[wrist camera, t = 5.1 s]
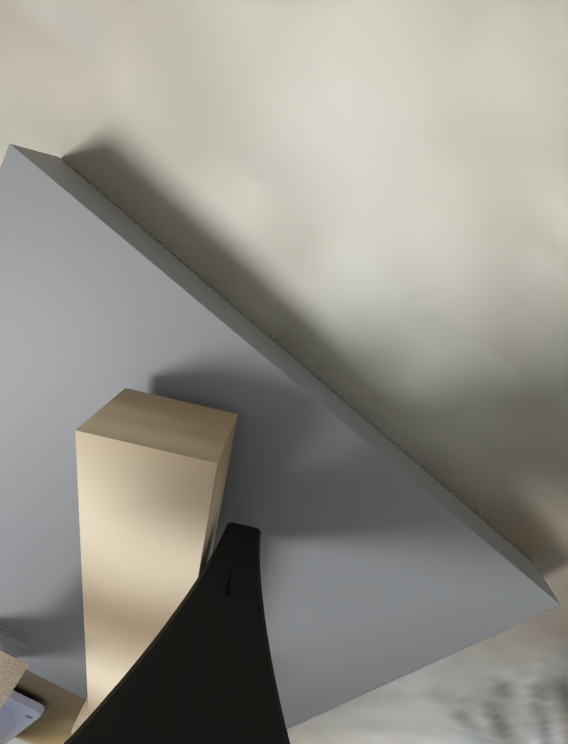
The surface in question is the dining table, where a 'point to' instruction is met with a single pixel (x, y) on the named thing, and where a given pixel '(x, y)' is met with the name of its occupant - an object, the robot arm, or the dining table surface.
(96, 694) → the link
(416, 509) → the board
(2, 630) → the keeper
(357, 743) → the dining table surface
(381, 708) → the dining table surface
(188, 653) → the robot arm
